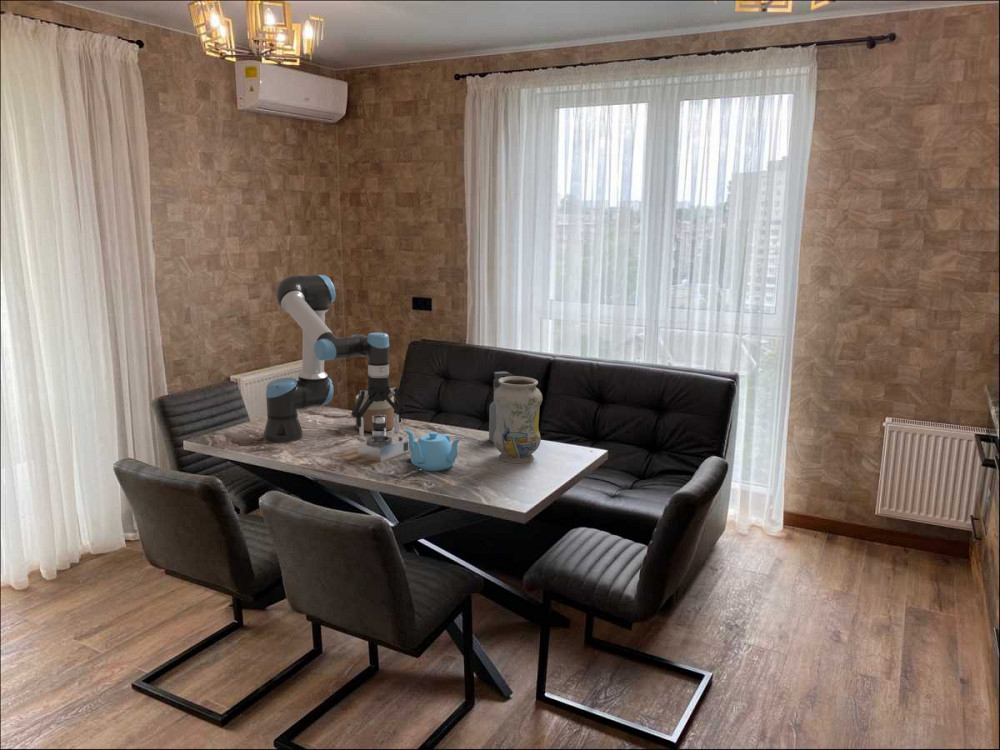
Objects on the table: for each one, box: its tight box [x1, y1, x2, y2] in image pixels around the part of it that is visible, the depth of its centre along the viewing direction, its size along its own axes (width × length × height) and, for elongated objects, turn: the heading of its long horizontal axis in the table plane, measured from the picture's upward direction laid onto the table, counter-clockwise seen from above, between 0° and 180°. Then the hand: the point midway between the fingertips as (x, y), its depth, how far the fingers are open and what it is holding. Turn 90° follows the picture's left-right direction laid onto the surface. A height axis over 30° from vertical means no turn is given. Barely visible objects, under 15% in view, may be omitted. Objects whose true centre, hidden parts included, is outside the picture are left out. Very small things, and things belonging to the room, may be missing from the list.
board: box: [335, 448, 411, 467], centre depth 278 cm, size 19×20×1 cm
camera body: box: [357, 434, 409, 462], centre depth 278 cm, size 11×15×6 cm
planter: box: [355, 393, 395, 433], centre depth 318 cm, size 16×16×14 cm
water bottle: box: [488, 371, 515, 443], centre depth 302 cm, size 10×10×28 cm
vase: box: [493, 375, 543, 464], centre depth 278 cm, size 18×18×30 cm
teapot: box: [404, 428, 461, 472], centre depth 270 cm, size 17×19×12 cm
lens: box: [371, 414, 387, 441], centre depth 275 cm, size 5×5×10 cm
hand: (379, 433), depth 275 cm, fingers open, 13 cm apart
